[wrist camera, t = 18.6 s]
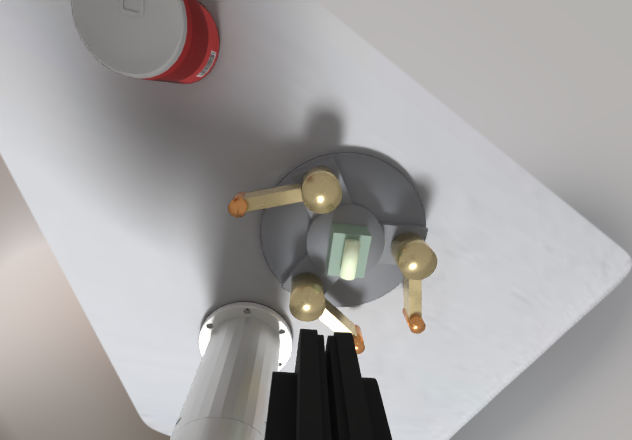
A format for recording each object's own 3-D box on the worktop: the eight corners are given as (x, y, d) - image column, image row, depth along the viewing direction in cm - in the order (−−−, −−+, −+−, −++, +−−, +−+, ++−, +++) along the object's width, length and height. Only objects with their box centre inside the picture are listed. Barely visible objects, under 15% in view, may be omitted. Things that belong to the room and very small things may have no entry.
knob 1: (335, 163, 35) (338, 170, 32) (340, 198, 37) (345, 209, 33) (230, 182, 36) (221, 192, 32) (240, 216, 37) (232, 230, 33)
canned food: (215, -8, 32) (172, -60, 21) (227, 82, 34) (193, 75, 24) (135, -4, 31) (52, -54, 21) (153, 86, 34) (88, 80, 24)
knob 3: (390, 234, 38) (399, 249, 35) (424, 230, 38) (437, 244, 35) (393, 316, 42) (401, 337, 39) (424, 313, 42) (436, 333, 39)
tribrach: (405, 309, 45) (423, 348, 38) (257, 296, 43) (247, 335, 36) (441, 163, 38) (472, 177, 31) (267, 142, 37) (258, 153, 29)
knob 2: (284, 287, 40) (282, 306, 37) (307, 266, 39) (308, 284, 36) (346, 341, 43) (350, 364, 40) (369, 323, 43) (375, 345, 39)
